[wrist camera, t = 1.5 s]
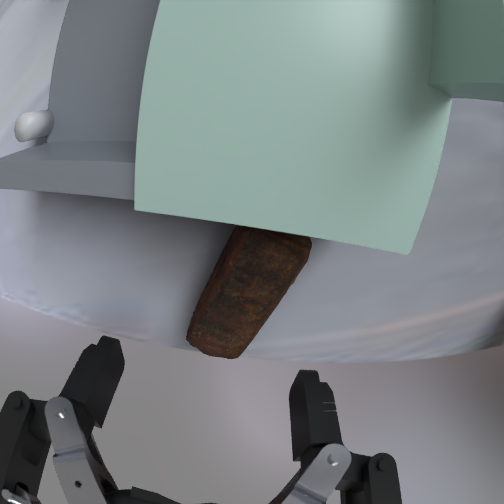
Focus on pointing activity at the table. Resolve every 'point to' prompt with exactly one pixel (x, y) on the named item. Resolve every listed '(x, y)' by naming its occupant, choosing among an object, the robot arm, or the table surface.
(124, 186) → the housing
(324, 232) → the cover
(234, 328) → the brick
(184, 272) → the table surface
